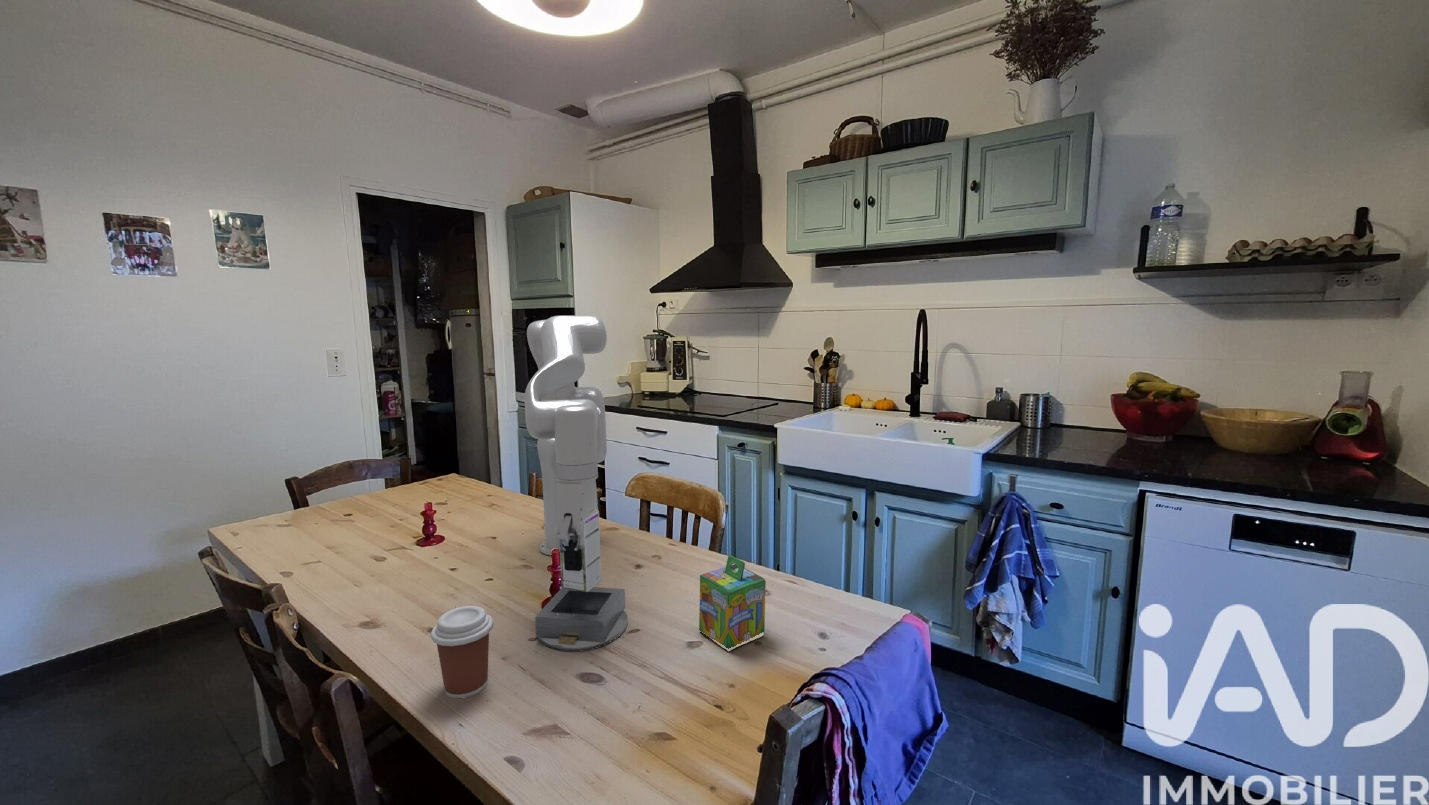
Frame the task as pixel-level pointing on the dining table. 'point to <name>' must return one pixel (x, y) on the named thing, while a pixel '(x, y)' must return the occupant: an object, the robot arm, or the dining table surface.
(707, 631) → the chalk box
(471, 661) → the coffee cup
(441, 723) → the dining table surface
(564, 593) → the open box
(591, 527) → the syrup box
